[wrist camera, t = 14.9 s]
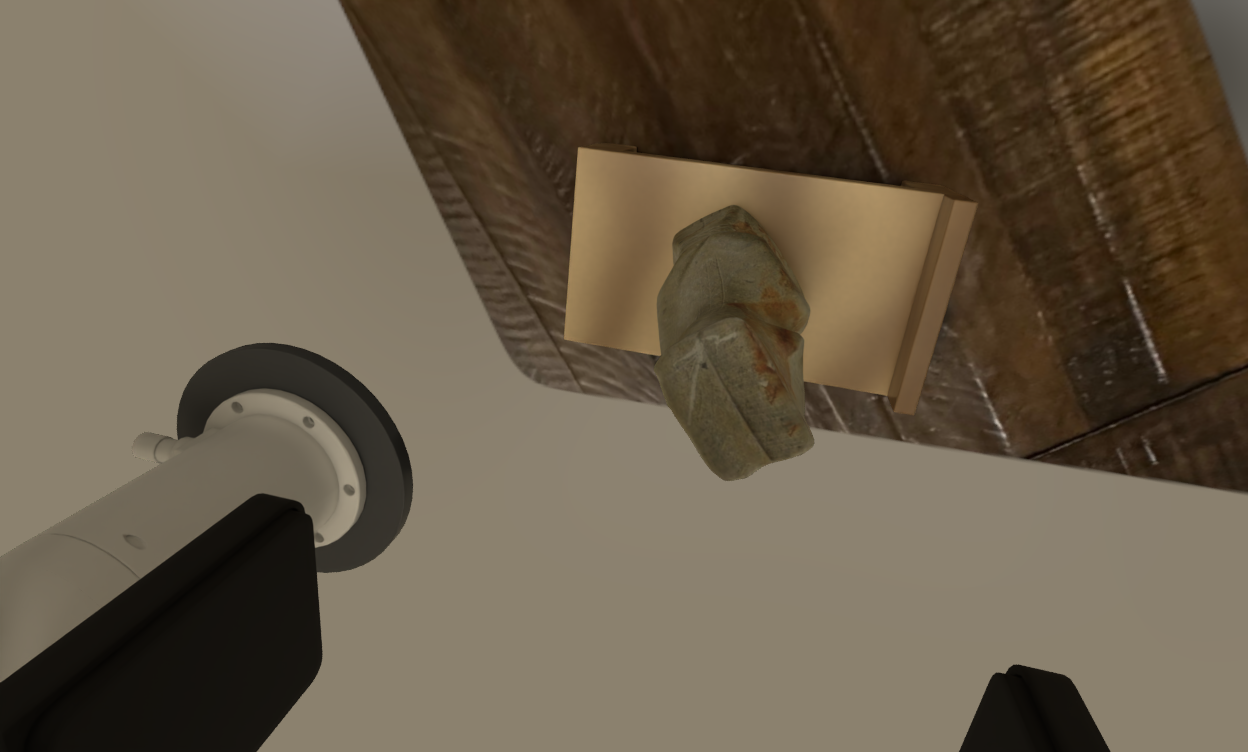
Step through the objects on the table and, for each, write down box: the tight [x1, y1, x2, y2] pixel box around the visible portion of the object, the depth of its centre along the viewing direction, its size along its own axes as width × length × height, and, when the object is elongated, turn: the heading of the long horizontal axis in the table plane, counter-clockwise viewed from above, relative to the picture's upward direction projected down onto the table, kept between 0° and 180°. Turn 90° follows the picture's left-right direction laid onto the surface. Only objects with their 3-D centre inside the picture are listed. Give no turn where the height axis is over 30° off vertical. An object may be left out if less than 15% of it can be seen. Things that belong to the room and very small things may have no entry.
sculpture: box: [654, 205, 814, 481], centre depth 27 cm, size 6×7×15 cm
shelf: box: [564, 142, 978, 415], centre depth 35 cm, size 18×10×7 cm, turn 84°
